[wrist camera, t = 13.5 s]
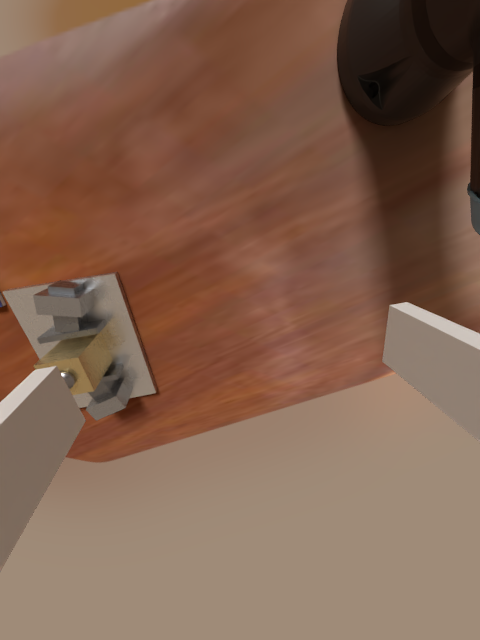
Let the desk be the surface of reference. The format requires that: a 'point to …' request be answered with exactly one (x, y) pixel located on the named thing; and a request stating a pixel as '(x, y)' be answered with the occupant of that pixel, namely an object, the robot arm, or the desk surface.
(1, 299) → the hard drive
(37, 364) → the block
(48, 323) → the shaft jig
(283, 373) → the desk surface
